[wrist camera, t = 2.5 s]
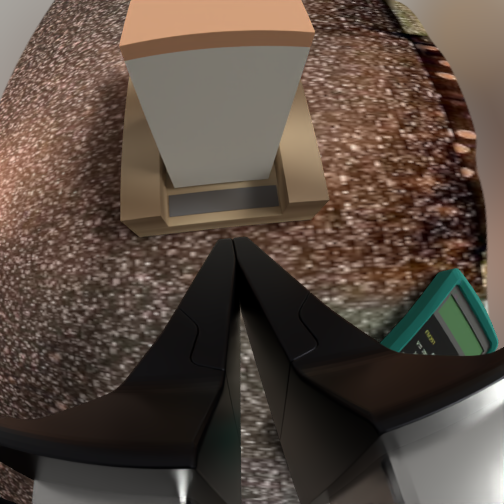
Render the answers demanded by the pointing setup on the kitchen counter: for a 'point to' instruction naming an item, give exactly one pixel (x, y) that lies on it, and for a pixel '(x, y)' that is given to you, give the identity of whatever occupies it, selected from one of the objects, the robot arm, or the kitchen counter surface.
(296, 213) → the open taupe tray
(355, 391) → the robot arm
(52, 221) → the kitchen counter surface
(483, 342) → the digital multimeter
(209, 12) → the switch tab
